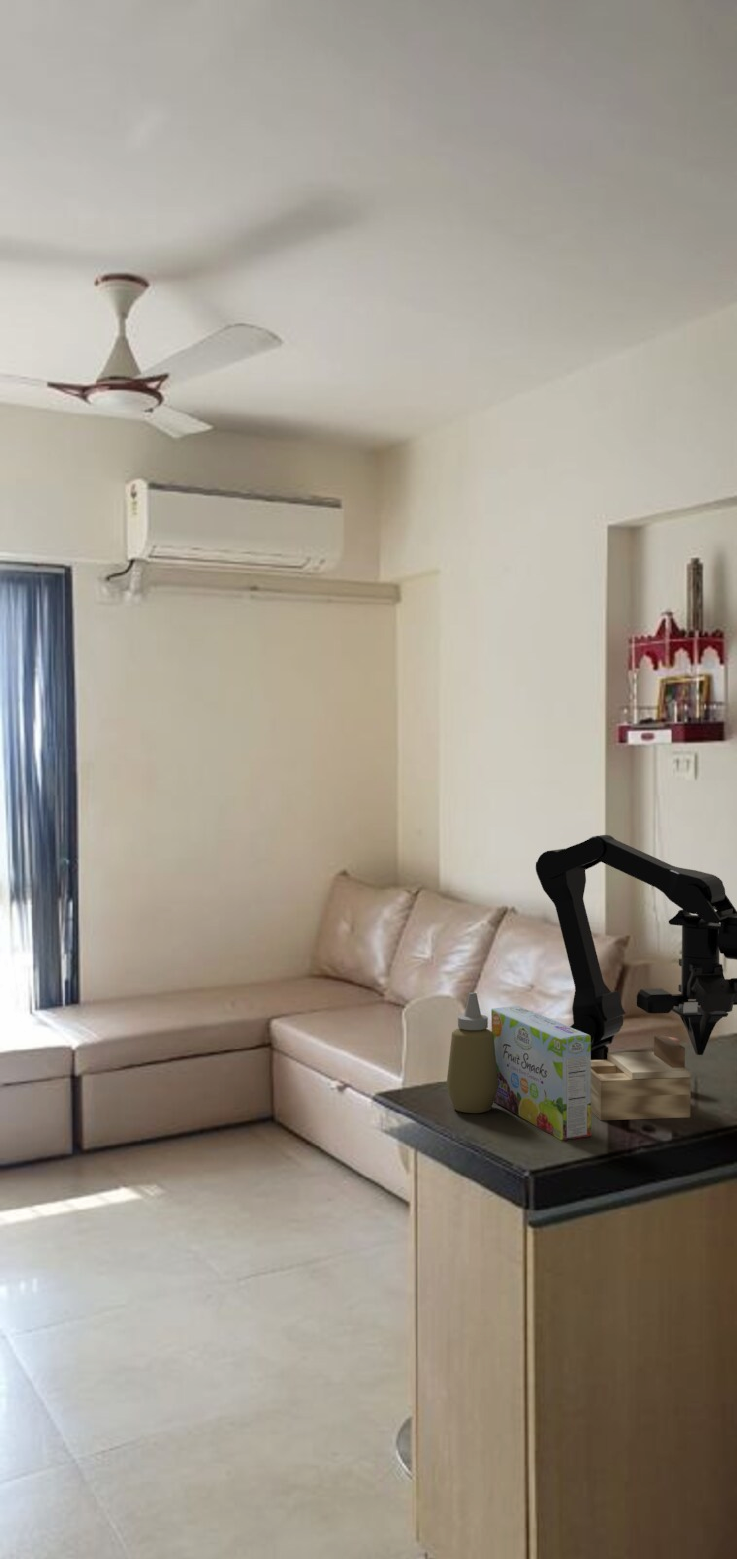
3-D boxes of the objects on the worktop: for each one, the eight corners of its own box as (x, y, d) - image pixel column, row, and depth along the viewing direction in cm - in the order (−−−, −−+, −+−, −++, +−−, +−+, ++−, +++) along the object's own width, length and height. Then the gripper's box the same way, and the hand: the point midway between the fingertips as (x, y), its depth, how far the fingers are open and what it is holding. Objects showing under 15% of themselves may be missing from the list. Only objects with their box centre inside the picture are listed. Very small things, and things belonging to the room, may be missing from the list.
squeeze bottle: (452, 1117, 190) (453, 999, 190) (441, 1102, 198) (441, 988, 198) (504, 1115, 192) (505, 997, 191) (491, 1100, 200) (491, 987, 199)
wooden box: (662, 1094, 203) (662, 1057, 203) (690, 1117, 191) (690, 1077, 191) (577, 1097, 201) (578, 1060, 201) (600, 1120, 189) (601, 1080, 189)
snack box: (488, 1102, 199) (489, 1007, 198) (519, 1098, 201) (520, 1004, 200) (560, 1142, 179) (561, 1036, 179) (593, 1137, 181) (594, 1033, 181)
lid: (662, 1057, 203) (663, 1032, 202) (690, 1077, 191) (691, 1051, 191) (607, 1058, 202) (607, 1034, 201) (632, 1079, 190) (632, 1052, 189)
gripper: (661, 965, 187) (660, 1069, 188) (780, 963, 190) (778, 1066, 190) (636, 953, 198) (635, 1051, 199) (749, 951, 201) (747, 1048, 201)
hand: (699, 1054), depth 197 cm, fingers closed
